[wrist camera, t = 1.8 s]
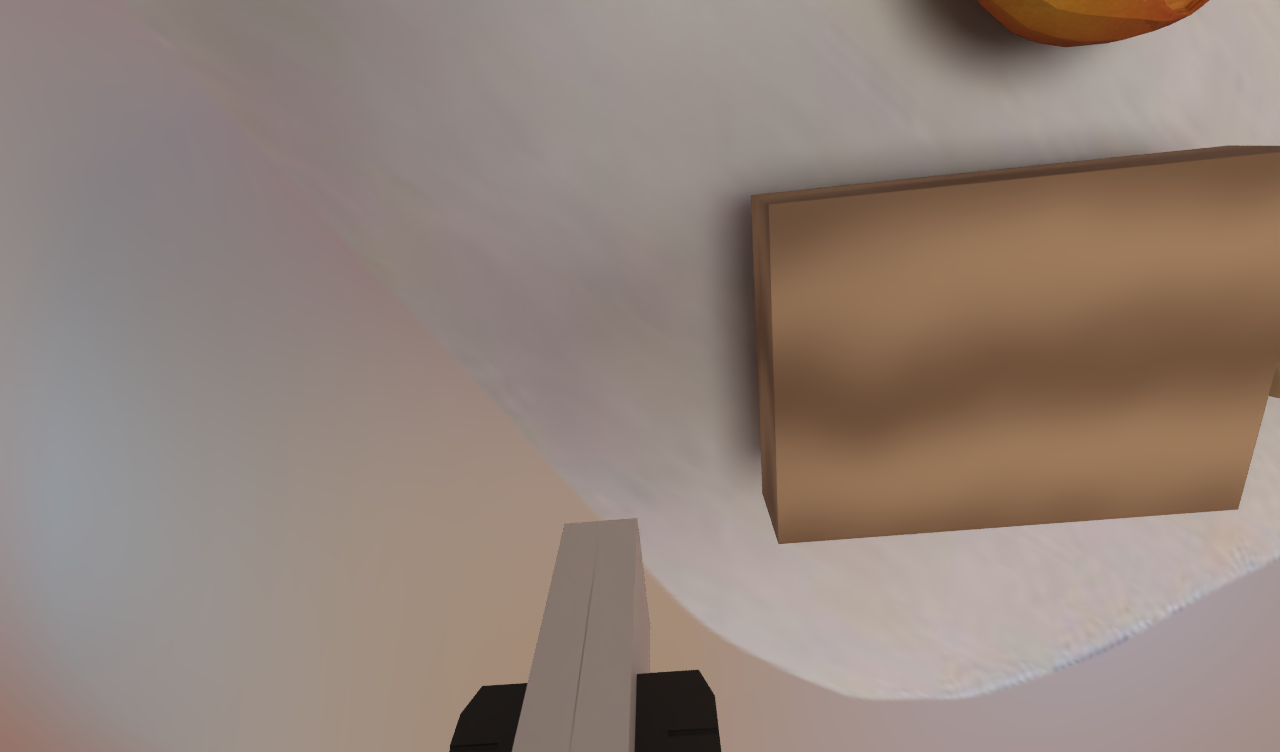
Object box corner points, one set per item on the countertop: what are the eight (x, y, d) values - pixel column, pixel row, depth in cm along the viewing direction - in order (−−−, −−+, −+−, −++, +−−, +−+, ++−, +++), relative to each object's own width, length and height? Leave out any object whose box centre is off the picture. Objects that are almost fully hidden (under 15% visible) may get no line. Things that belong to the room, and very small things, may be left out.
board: (751, 195, 22) (768, 204, 19) (1228, 145, 21) (1335, 146, 18) (762, 493, 26) (778, 543, 23) (1161, 461, 25) (1237, 509, 22)
